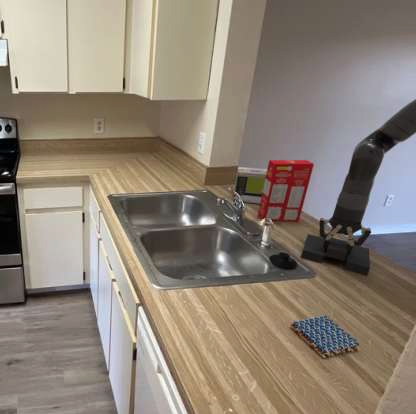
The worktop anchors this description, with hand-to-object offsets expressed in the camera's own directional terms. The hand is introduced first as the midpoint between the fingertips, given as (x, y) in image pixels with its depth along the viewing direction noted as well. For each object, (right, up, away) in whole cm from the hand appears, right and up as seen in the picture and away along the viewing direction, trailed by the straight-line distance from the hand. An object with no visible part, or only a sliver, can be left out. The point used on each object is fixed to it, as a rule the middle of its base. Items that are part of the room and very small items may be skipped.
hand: (336, 251), depth 110 cm
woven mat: (-25, -17, -30) cm, 43 cm away
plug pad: (0, 0, 0) cm, 0 cm away
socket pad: (+1, -2, +3) cm, 4 cm away
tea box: (-5, +18, +51) cm, 54 cm away
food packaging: (-3, +10, +31) cm, 32 cm away
